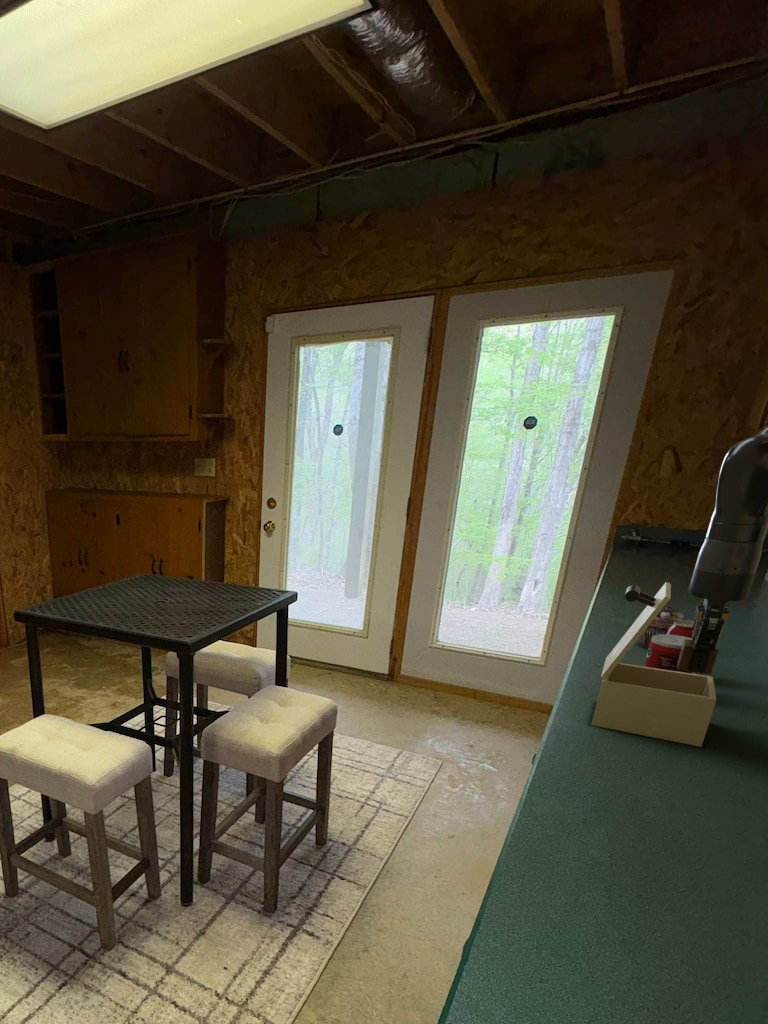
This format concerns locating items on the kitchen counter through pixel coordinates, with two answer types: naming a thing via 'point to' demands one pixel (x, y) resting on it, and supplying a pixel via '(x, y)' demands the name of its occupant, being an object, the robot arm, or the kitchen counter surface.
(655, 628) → the cupcake
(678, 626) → the soda can
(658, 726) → the bin
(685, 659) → the block
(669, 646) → the canned food
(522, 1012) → the kitchen counter surface
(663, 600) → the bin lid
